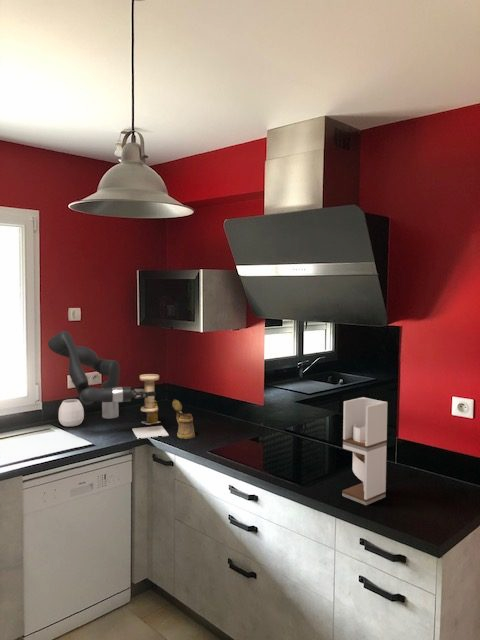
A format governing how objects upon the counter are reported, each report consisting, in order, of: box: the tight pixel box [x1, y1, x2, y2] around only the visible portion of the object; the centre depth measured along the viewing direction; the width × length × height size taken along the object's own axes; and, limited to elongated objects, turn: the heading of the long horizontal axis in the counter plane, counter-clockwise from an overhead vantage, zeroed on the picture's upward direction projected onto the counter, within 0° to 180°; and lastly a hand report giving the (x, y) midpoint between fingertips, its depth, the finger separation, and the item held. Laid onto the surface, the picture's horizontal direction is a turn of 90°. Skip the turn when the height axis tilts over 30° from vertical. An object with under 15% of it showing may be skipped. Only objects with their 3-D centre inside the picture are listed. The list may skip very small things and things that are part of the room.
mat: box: [131, 425, 170, 440], centre depth 272 cm, size 18×16×1 cm
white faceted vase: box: [57, 398, 85, 427], centre depth 286 cm, size 13×13×14 cm
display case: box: [341, 396, 388, 506], centre depth 190 cm, size 11×11×35 cm
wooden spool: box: [139, 373, 160, 413], centre depth 271 cm, size 10×10×18 cm
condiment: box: [141, 399, 160, 425], centre depth 292 cm, size 7×8×12 cm
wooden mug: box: [171, 398, 196, 440], centre depth 266 cm, size 9×14×18 cm, turn 49°
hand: (154, 392), depth 272 cm, fingers closed on wooden spool, 5 cm apart
